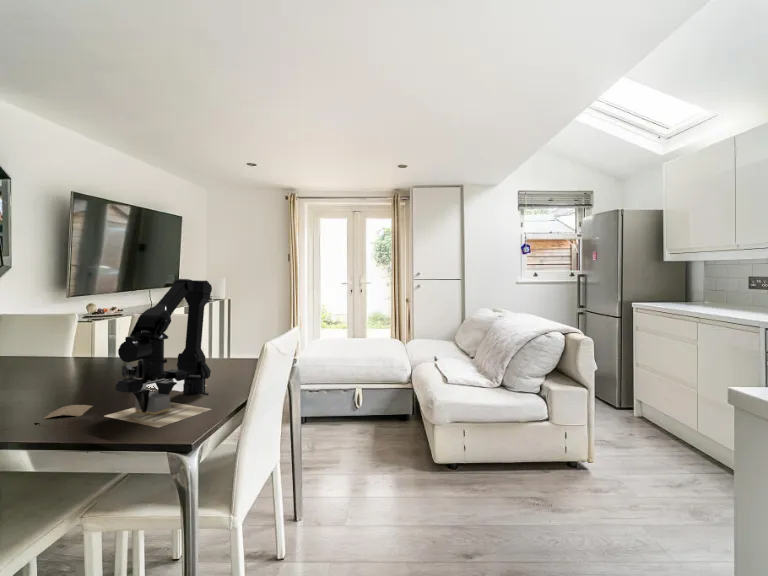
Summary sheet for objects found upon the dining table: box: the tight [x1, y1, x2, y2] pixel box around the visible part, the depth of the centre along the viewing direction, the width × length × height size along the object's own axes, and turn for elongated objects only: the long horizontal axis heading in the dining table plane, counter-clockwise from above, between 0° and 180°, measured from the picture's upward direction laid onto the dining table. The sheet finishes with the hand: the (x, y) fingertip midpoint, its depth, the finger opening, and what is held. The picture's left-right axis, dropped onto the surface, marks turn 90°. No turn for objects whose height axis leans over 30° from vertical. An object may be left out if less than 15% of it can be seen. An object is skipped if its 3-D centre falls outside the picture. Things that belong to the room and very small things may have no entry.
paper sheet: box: [146, 378, 208, 392], centre depth 155 cm, size 24×29×1 cm
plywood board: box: [104, 401, 213, 428], centre depth 123 cm, size 18×22×1 cm
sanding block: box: [134, 391, 171, 415], centre depth 124 cm, size 5×8×4 cm, turn 67°
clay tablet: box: [35, 404, 94, 423], centre depth 122 cm, size 14×10×3 cm
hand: (152, 409), depth 125 cm, fingers closed on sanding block, 5 cm apart
